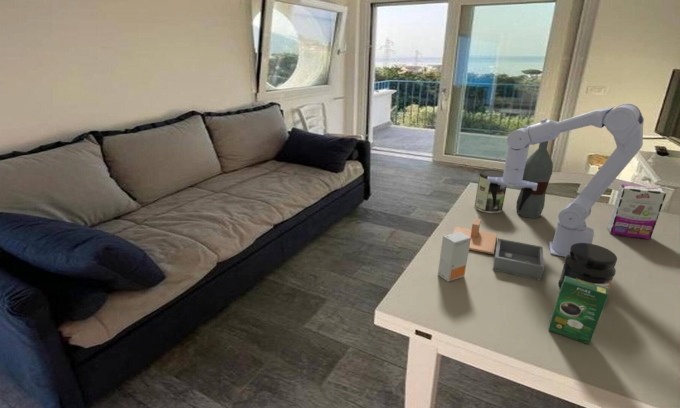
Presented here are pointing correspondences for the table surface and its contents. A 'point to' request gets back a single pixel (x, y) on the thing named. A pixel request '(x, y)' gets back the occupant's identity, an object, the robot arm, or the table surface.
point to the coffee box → (578, 309)
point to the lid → (479, 238)
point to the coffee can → (489, 192)
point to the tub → (519, 259)
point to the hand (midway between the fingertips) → (506, 207)
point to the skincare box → (454, 256)
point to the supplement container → (589, 264)
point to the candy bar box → (636, 211)
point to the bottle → (536, 181)
